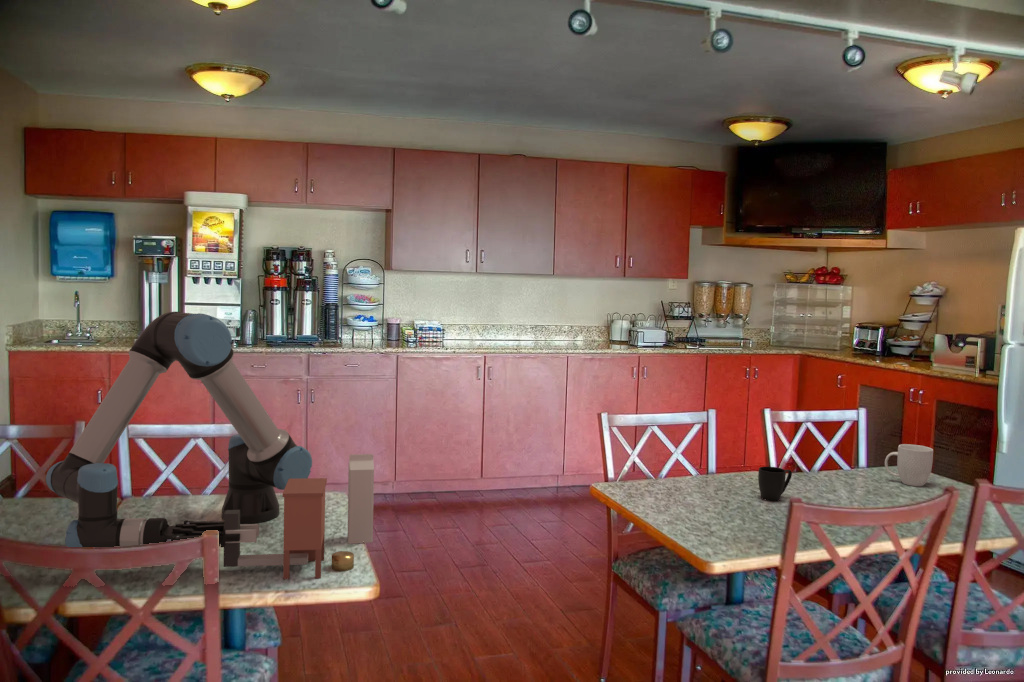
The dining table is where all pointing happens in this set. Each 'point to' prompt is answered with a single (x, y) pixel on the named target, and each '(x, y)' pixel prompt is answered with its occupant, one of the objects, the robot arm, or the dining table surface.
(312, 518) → the cabinet
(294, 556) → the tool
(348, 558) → the token
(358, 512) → the milk
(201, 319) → the robot arm
